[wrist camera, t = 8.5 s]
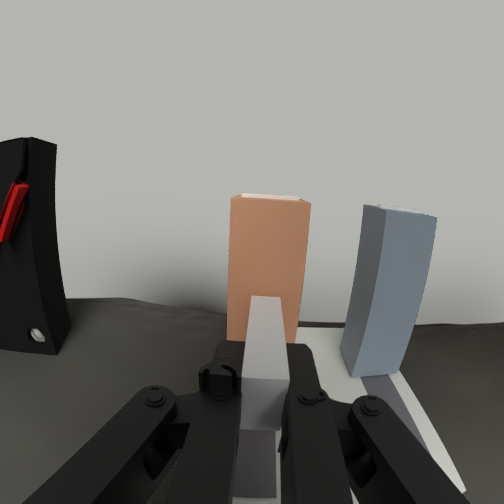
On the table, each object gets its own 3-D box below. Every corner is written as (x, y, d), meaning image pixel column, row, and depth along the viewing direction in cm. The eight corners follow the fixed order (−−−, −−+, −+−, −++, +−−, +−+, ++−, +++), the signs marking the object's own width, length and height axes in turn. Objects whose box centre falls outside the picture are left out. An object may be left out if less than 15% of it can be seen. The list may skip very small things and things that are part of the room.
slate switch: (397, 373, 17) (437, 214, 14) (351, 377, 17) (386, 206, 14) (380, 346, 21) (409, 208, 18) (339, 348, 21) (363, 201, 18)
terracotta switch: (286, 390, 16) (311, 199, 13) (226, 387, 16) (231, 194, 13) (283, 357, 20) (300, 195, 17) (232, 354, 20) (238, 192, 17)
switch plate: (443, 508, 6) (467, 489, 6) (194, 541, 7) (187, 531, 6) (365, 347, 26) (371, 326, 25) (232, 345, 26) (232, 322, 25)
